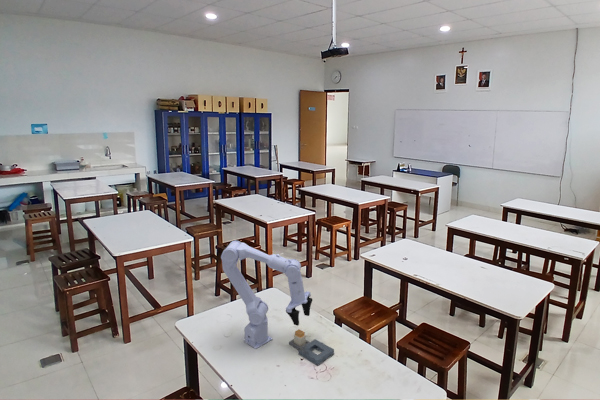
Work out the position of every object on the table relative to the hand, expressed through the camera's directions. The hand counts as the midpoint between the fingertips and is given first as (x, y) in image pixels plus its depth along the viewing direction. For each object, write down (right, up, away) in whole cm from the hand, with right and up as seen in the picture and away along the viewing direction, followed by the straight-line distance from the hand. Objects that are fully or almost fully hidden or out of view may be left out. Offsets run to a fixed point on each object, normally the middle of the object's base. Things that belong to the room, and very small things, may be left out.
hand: (301, 319), depth 158 cm
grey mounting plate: (-1, -10, +1) cm, 11 cm away
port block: (+6, -12, -5) cm, 14 cm away
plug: (-1, -11, +1) cm, 11 cm away
